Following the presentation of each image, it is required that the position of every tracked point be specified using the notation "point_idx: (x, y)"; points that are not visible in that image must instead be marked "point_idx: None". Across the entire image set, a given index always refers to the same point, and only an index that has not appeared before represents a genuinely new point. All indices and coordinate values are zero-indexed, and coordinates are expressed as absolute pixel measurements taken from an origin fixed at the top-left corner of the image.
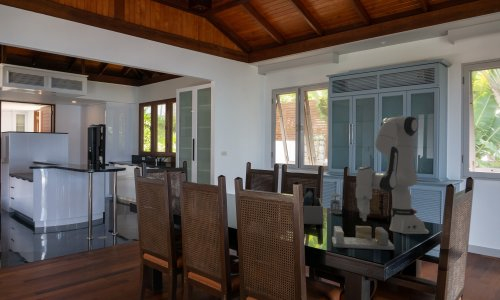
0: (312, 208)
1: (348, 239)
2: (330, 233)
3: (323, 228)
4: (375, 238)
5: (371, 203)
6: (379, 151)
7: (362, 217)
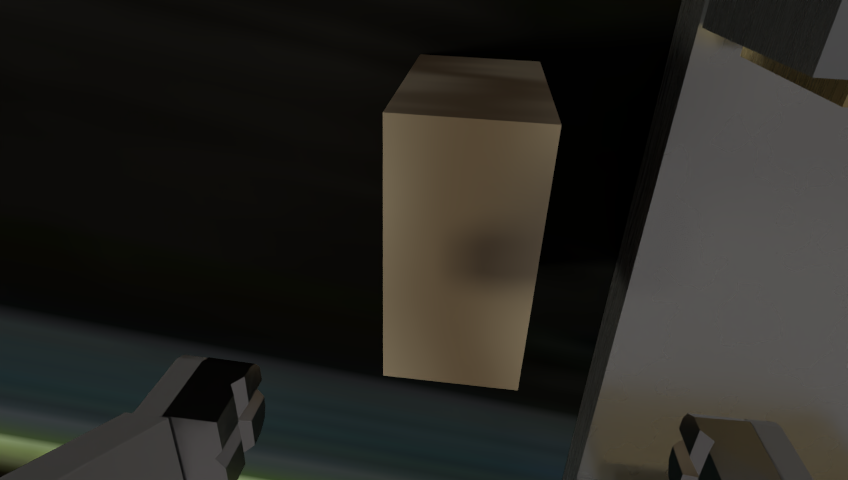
0: None
1: None
2: (258, 455)
3: None
4: (696, 32)
5: None
6: None
7: (257, 382)
